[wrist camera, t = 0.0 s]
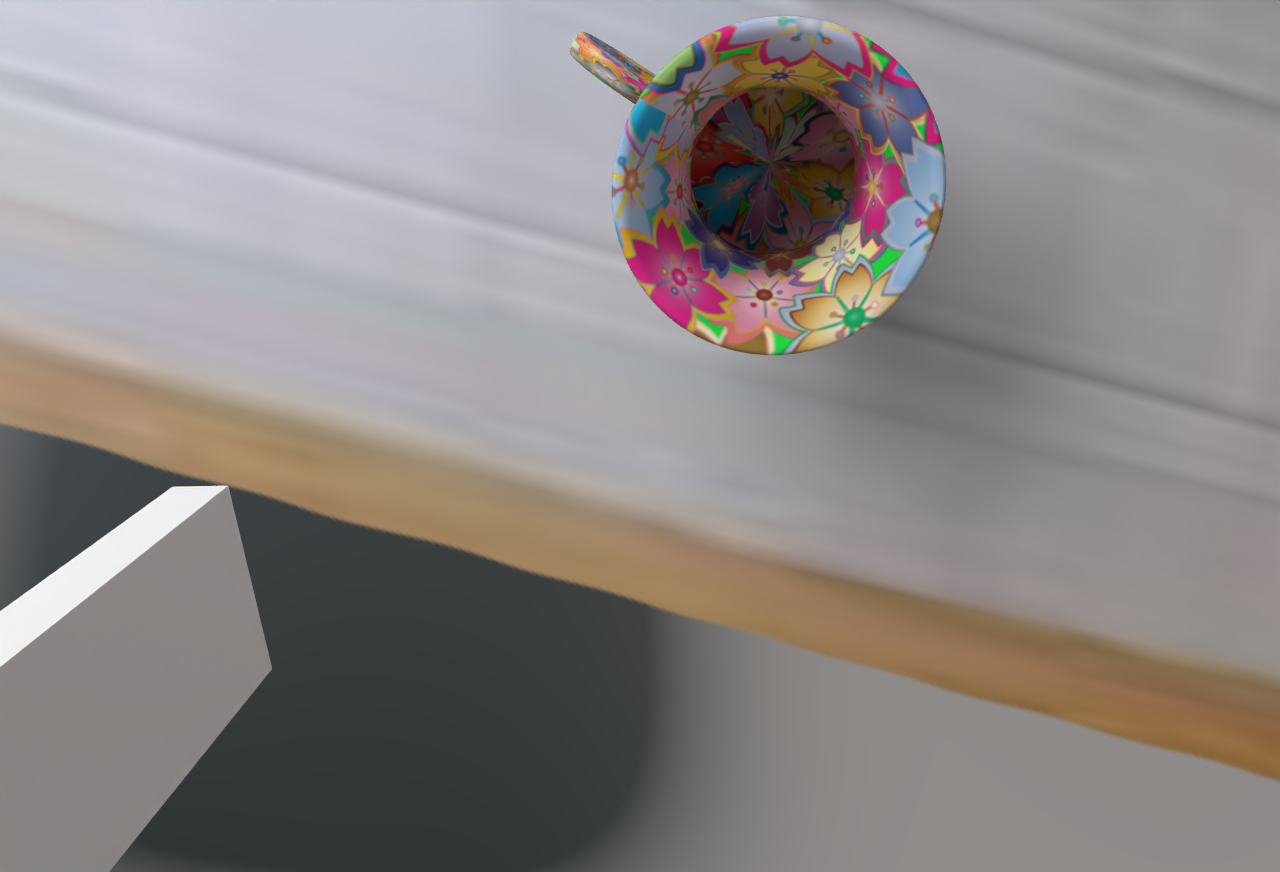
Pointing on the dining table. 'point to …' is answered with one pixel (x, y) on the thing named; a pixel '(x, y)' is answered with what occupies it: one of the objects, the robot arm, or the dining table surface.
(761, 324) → the mug
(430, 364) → the dining table surface
